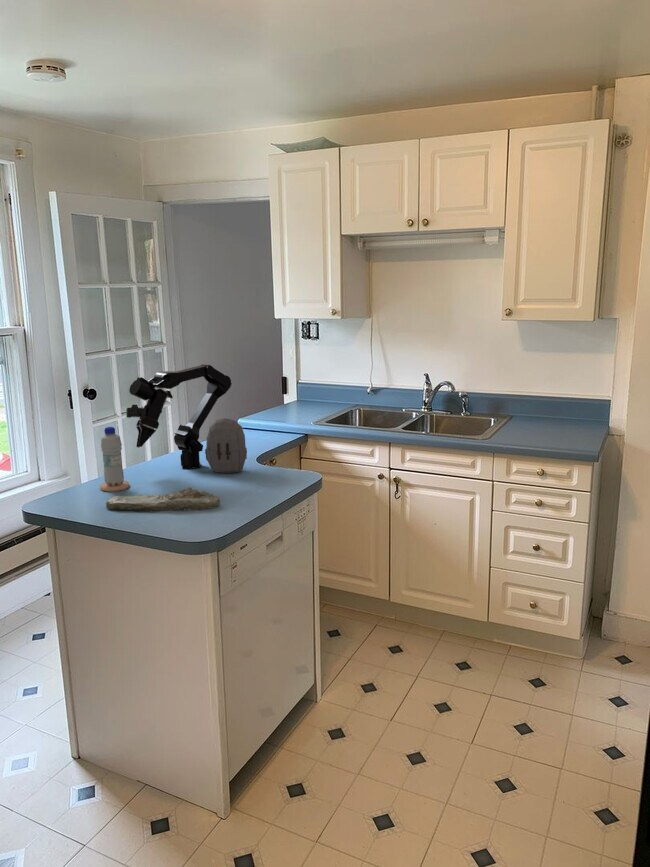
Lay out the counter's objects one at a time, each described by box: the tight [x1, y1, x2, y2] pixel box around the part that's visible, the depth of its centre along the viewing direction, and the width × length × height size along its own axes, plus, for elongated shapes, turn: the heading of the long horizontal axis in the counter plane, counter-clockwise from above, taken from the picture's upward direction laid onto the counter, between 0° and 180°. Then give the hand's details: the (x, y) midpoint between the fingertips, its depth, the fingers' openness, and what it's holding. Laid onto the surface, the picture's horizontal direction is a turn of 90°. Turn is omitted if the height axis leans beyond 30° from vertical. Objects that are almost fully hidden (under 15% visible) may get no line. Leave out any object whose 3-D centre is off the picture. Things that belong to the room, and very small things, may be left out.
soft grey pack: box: [204, 417, 248, 474], centre depth 242 cm, size 15×8×20 cm, turn 84°
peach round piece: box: [99, 480, 130, 492], centre depth 228 cm, size 10×10×1 cm
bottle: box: [100, 426, 125, 486], centre depth 226 cm, size 7×7×20 cm
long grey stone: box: [105, 486, 220, 512], centre depth 208 cm, size 35×5×10 cm
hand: (138, 446), depth 235 cm, fingers open, 9 cm apart
